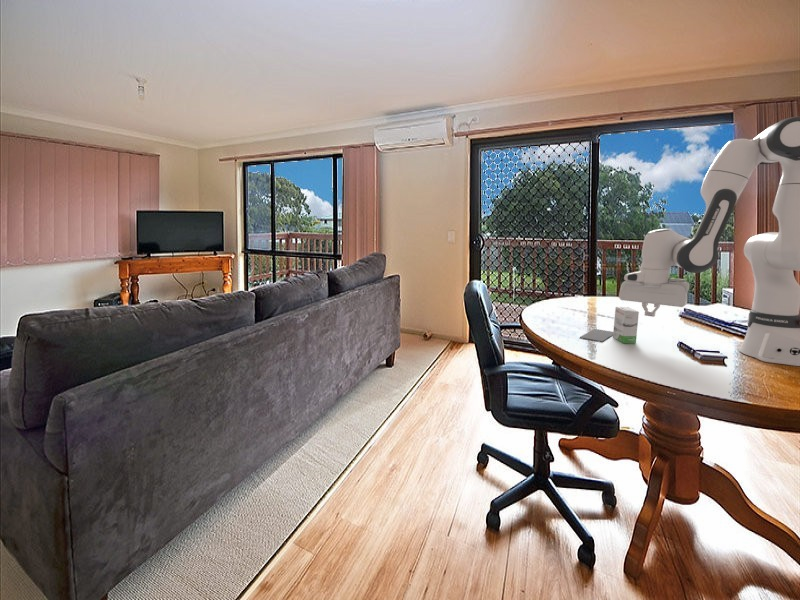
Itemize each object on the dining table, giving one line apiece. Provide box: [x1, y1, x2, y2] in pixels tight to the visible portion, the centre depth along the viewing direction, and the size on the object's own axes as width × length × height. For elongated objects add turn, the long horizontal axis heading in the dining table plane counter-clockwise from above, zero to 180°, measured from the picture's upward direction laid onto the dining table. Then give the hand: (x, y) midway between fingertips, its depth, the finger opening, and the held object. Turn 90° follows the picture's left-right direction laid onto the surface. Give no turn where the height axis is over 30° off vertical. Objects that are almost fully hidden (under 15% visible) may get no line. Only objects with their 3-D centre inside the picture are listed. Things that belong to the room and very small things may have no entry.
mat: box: [579, 328, 613, 343], centre depth 157 cm, size 8×16×1 cm, turn 137°
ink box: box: [612, 306, 640, 344], centre depth 149 cm, size 9×5×12 cm, turn 175°
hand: (649, 315), depth 144 cm, fingers closed
